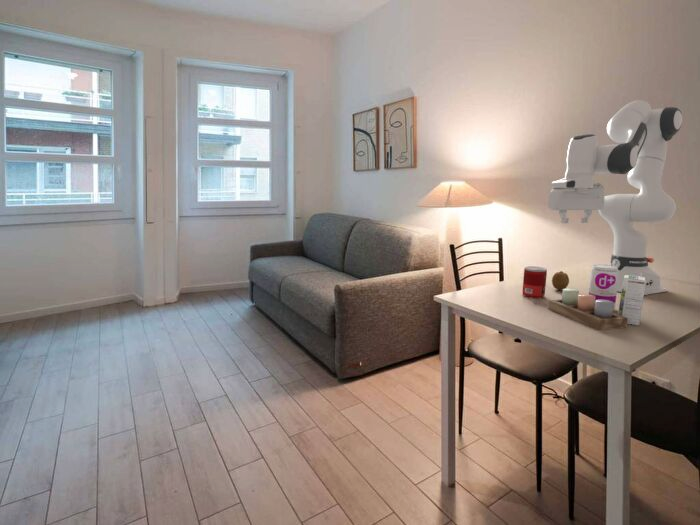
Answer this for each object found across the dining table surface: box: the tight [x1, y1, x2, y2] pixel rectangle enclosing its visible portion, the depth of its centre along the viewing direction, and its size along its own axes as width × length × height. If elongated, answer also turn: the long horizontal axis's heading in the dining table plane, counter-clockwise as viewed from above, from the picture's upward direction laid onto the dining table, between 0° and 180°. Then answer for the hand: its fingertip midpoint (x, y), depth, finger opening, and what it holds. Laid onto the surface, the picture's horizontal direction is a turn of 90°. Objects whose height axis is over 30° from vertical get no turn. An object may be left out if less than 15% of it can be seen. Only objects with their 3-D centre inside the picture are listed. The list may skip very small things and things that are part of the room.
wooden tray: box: [547, 298, 628, 331], centre depth 132 cm, size 10×22×3 cm, turn 12°
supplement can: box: [587, 264, 619, 310], centre depth 140 cm, size 8×8×15 cm
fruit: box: [551, 270, 570, 291], centre depth 166 cm, size 6×6×8 cm
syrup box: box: [617, 275, 646, 326], centre depth 126 cm, size 6×6×14 cm
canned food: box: [522, 265, 548, 299], centre depth 157 cm, size 8×8×11 cm
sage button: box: [561, 288, 580, 306], centre depth 138 cm, size 5×5×5 cm
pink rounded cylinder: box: [577, 293, 595, 312], centre depth 131 cm, size 5×5×5 cm
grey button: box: [594, 299, 614, 319], centre depth 125 cm, size 5×5×5 cm
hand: (574, 223), depth 143 cm, fingers open, 7 cm apart
